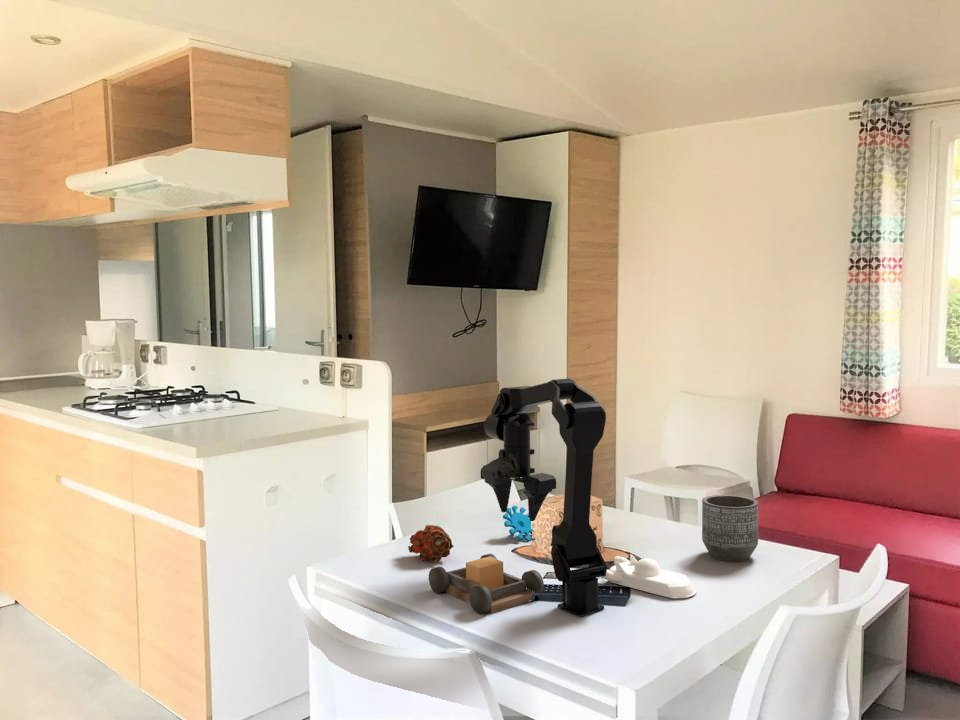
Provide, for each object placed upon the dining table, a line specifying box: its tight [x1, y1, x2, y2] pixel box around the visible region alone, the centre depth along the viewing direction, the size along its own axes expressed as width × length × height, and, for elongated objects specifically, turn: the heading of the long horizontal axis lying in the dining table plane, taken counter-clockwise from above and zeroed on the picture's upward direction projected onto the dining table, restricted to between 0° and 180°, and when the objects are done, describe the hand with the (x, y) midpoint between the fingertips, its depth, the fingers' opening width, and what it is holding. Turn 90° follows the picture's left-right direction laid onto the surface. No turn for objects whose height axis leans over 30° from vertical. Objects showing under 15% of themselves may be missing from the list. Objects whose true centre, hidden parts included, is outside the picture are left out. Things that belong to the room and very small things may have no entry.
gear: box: [502, 505, 532, 542], centre depth 202 cm, size 11×6×10 cm
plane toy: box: [600, 553, 698, 599], centre depth 165 cm, size 10×20×6 cm, turn 49°
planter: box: [701, 494, 759, 563], centre depth 183 cm, size 12×12×13 cm
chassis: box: [428, 553, 545, 614], centre depth 162 cm, size 19×15×5 cm
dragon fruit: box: [407, 524, 455, 562], centre depth 185 cm, size 8×8×12 cm
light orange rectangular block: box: [465, 557, 504, 590], centre depth 162 cm, size 4×6×5 cm
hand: (517, 516), depth 174 cm, fingers open, 9 cm apart
